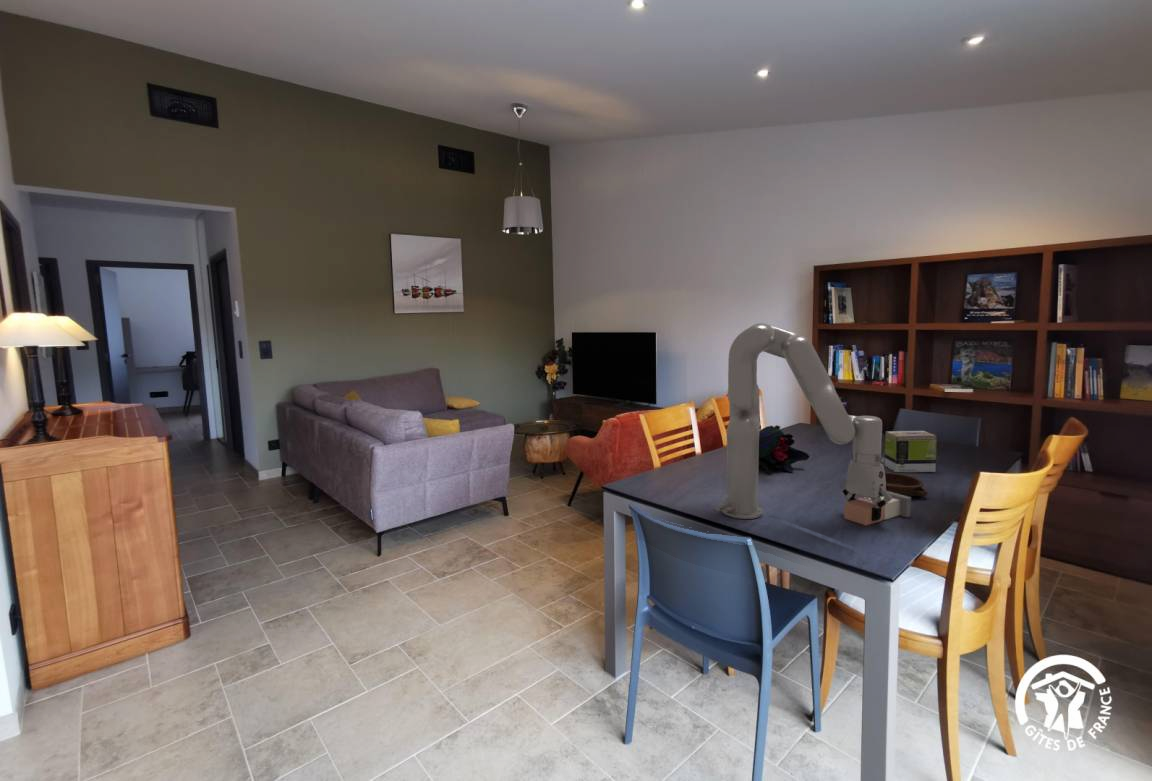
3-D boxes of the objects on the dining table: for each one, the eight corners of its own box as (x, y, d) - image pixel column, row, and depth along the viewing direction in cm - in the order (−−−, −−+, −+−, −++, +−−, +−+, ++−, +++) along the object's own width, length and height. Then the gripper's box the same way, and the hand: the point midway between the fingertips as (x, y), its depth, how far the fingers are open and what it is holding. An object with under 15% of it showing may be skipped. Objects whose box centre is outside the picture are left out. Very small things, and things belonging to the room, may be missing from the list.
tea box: (922, 466, 229) (924, 430, 227) (935, 473, 219) (938, 435, 217) (883, 466, 231) (885, 430, 229) (894, 473, 221) (896, 435, 219)
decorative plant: (768, 483, 241) (828, 482, 215) (721, 467, 231) (778, 463, 205) (774, 437, 247) (833, 430, 221) (729, 418, 237) (785, 409, 211)
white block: (892, 522, 167) (893, 502, 166) (855, 511, 177) (856, 492, 177) (916, 514, 173) (917, 495, 172) (879, 504, 183) (880, 486, 182)
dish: (914, 506, 184) (915, 491, 184) (847, 490, 202) (848, 476, 201) (937, 494, 195) (938, 480, 194) (871, 480, 212) (872, 467, 211)
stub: (866, 525, 165) (866, 508, 164) (844, 518, 171) (845, 501, 170) (882, 520, 169) (883, 503, 168) (861, 513, 175) (861, 497, 174)
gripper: (903, 462, 162) (899, 522, 164) (847, 450, 177) (845, 505, 179) (886, 466, 158) (883, 527, 161) (831, 453, 173) (829, 510, 176)
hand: (863, 515), depth 170 cm, fingers closed on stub, 7 cm apart
